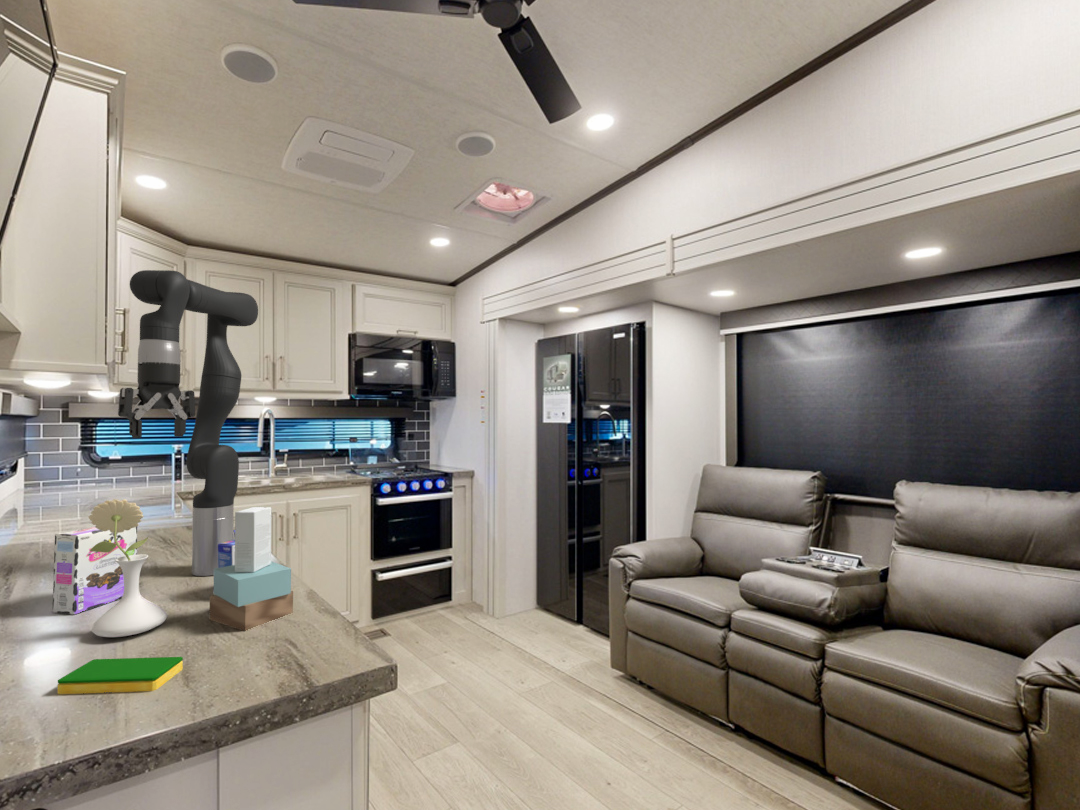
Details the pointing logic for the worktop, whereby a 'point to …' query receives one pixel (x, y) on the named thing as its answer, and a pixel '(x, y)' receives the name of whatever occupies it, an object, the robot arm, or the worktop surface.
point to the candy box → (88, 569)
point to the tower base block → (250, 611)
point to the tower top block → (252, 584)
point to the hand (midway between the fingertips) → (158, 437)
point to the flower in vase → (125, 574)
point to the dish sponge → (120, 675)
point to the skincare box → (252, 539)
